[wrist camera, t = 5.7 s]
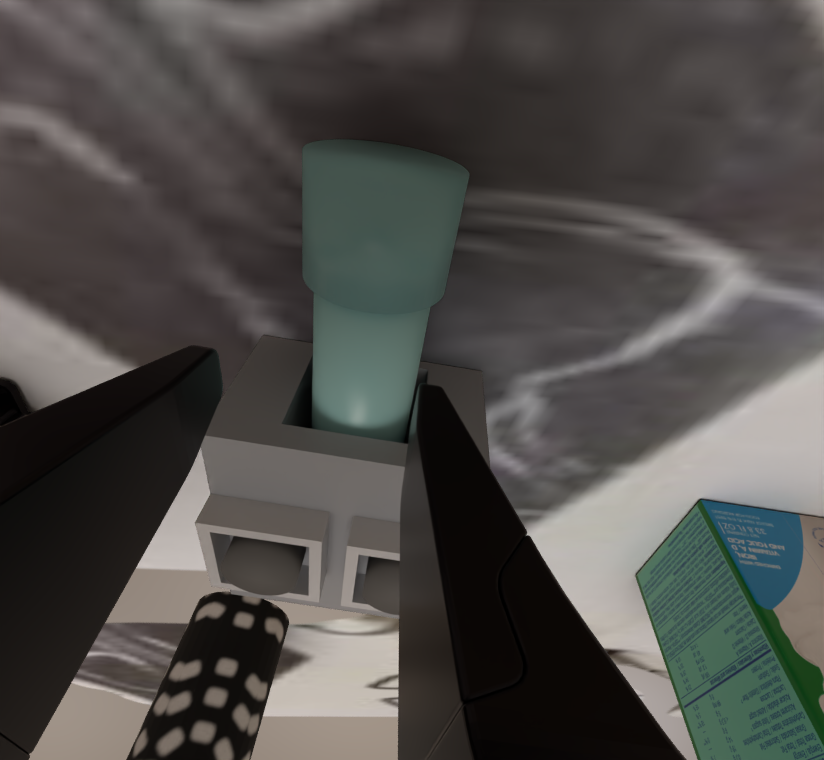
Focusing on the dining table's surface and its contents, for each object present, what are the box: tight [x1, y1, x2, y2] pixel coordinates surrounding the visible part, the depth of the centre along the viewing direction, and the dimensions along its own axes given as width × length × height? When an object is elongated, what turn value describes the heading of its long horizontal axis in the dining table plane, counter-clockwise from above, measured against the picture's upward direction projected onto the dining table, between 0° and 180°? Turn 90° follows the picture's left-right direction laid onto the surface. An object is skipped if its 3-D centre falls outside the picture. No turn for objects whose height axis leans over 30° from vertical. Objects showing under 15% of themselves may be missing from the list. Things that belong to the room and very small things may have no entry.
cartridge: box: [302, 139, 470, 443], centre depth 20 cm, size 20×5×5 cm, turn 171°
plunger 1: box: [220, 536, 306, 596], centre depth 19 cm, size 3×3×2 cm
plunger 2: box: [363, 556, 400, 615], centre depth 19 cm, size 3×3×2 cm
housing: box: [195, 335, 490, 619], centre depth 22 cm, size 11×12×8 cm
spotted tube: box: [127, 592, 289, 760], centre depth 33 cm, size 8×8×20 cm
